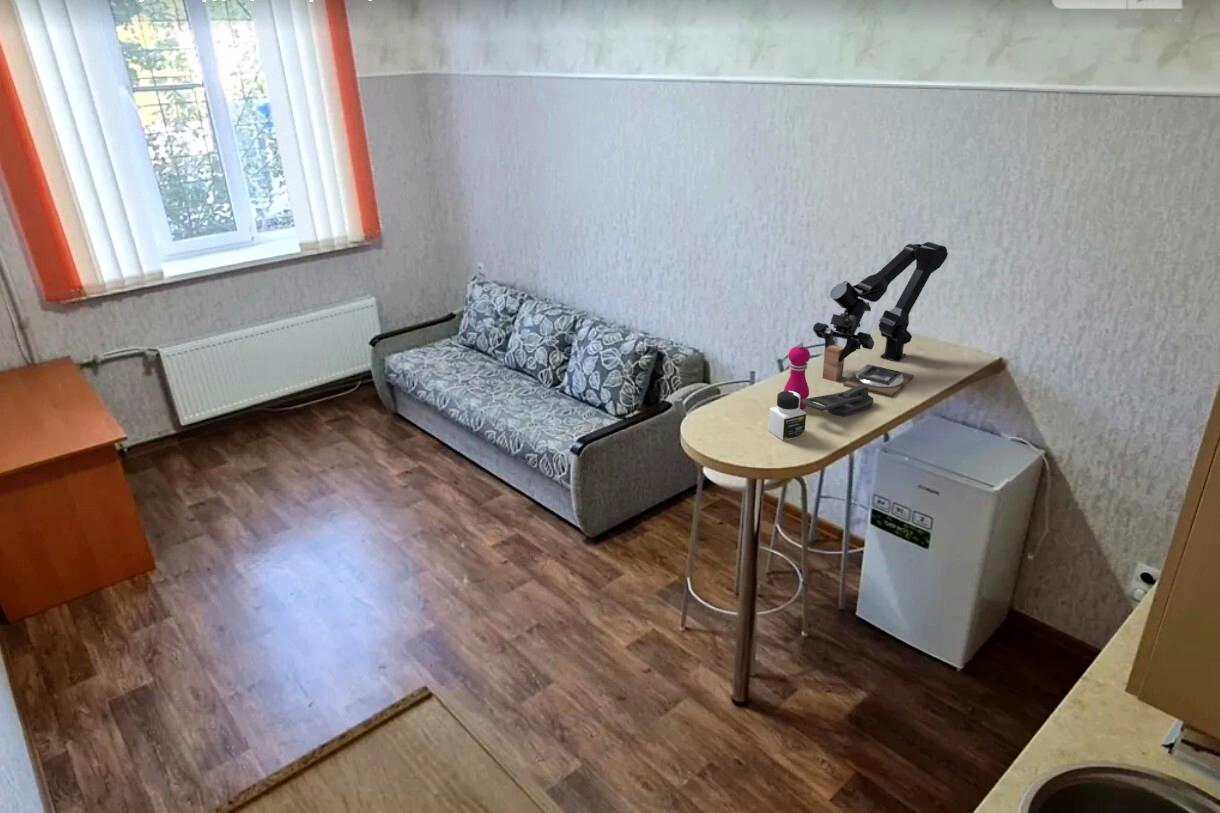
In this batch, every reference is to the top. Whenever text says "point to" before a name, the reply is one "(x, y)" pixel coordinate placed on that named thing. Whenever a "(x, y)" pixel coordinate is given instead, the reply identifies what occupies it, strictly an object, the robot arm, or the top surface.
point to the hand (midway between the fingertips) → (832, 359)
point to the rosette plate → (879, 377)
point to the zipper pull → (842, 402)
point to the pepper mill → (798, 372)
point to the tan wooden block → (833, 363)
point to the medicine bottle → (787, 417)
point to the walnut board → (886, 392)
